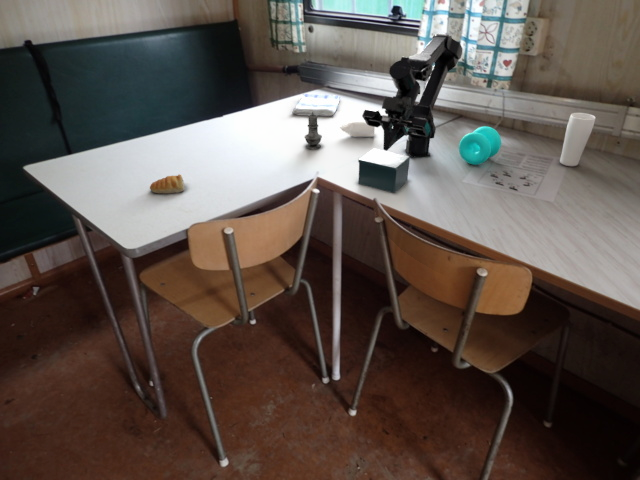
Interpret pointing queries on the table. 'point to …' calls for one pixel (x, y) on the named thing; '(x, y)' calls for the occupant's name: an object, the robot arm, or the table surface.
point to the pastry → (168, 185)
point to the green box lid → (384, 159)
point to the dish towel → (317, 105)
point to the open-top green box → (383, 177)
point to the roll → (358, 129)
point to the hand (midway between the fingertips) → (385, 149)
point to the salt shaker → (313, 134)
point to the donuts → (480, 145)
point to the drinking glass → (576, 137)
